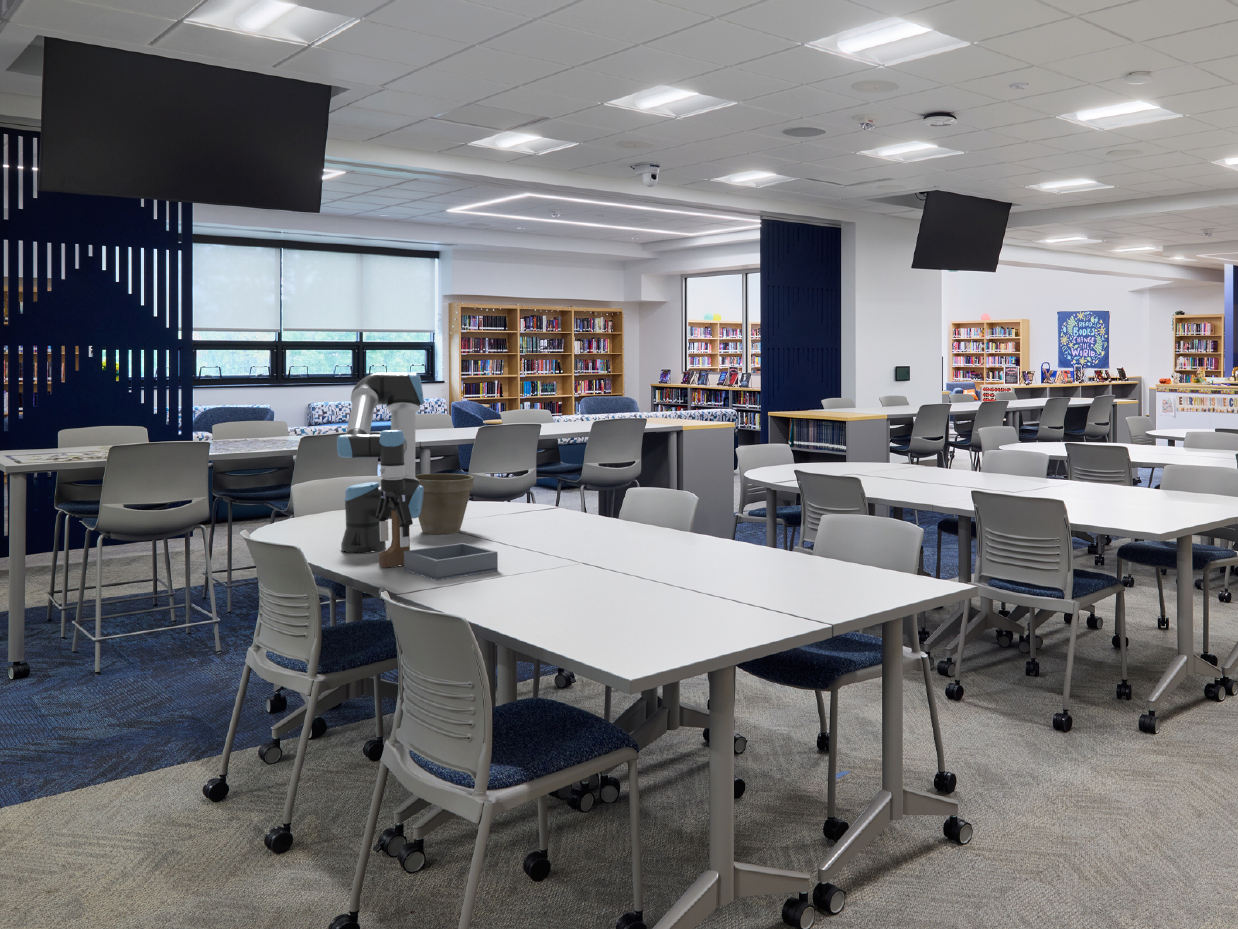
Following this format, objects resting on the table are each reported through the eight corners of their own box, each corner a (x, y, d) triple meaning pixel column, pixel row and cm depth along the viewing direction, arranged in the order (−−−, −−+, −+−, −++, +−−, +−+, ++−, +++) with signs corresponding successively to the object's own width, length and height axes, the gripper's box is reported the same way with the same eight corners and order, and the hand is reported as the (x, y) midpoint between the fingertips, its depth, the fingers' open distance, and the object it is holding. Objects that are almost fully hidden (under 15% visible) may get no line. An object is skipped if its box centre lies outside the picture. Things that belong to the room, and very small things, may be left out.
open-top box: (404, 570, 303) (403, 551, 302) (463, 560, 317) (463, 542, 317) (436, 580, 288) (436, 561, 287) (497, 570, 302) (497, 551, 302)
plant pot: (482, 527, 383) (482, 473, 381) (461, 538, 359) (460, 480, 357) (424, 525, 388) (423, 472, 385) (399, 535, 364) (397, 479, 361)
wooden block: (384, 568, 305) (382, 512, 303) (378, 566, 309) (377, 510, 307) (410, 565, 310) (409, 510, 308) (405, 562, 314) (404, 508, 312)
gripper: (364, 476, 313) (365, 539, 315) (401, 482, 295) (402, 550, 297) (384, 474, 318) (386, 537, 320) (422, 480, 300) (424, 547, 302)
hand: (394, 543), depth 308 cm, fingers open, 13 cm apart
